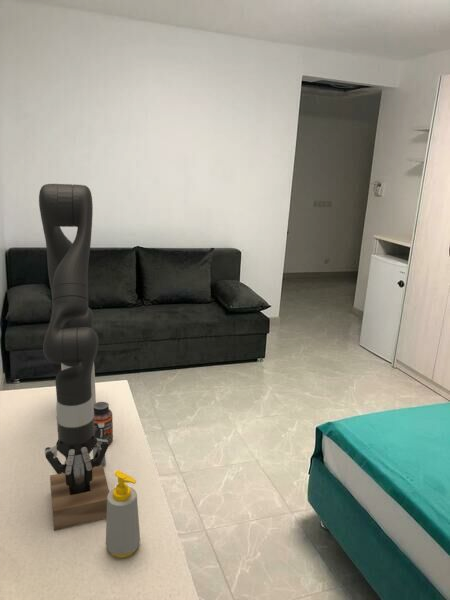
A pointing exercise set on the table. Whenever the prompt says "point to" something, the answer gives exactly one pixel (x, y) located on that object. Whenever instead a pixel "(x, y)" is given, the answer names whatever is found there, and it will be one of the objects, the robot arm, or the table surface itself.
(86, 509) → the guide block
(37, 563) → the table surface
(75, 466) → the tall pin
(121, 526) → the soap bottle
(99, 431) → the supplement bottle
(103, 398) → the table surface
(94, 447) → the short pin
